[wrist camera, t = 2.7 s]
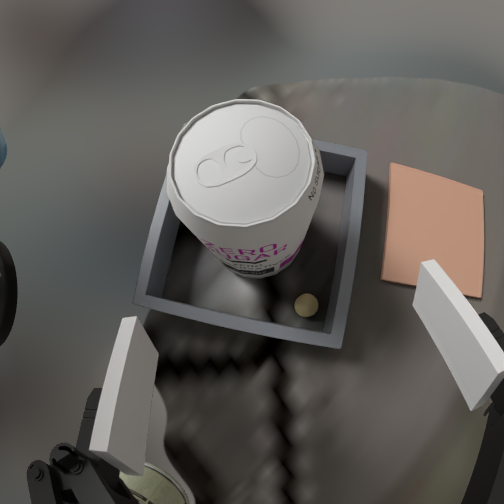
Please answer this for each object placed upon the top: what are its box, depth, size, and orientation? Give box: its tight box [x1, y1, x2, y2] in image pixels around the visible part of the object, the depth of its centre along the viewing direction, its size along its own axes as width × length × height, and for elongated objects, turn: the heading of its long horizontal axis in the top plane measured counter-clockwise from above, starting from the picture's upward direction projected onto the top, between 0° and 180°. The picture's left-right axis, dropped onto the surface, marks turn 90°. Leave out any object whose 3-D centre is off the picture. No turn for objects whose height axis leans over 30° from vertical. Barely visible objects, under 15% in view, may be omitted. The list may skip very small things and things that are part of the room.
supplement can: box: [167, 99, 324, 279], centre depth 22 cm, size 8×8×15 cm
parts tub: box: [133, 123, 367, 349], centre depth 27 cm, size 17×17×4 cm
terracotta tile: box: [380, 162, 484, 298], centre depth 27 cm, size 12×12×1 cm
